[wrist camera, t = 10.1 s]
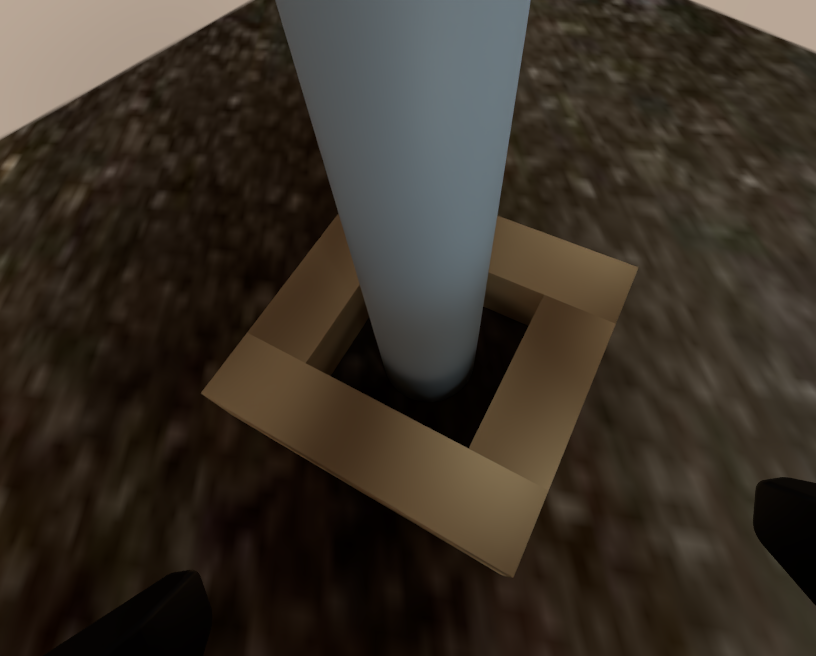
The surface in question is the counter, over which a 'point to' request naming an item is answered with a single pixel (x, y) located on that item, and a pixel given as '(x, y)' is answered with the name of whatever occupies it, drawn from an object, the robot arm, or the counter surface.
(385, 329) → the blue-grey cylinder
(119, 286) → the counter surface
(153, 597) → the robot arm
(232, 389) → the wooden square frame
